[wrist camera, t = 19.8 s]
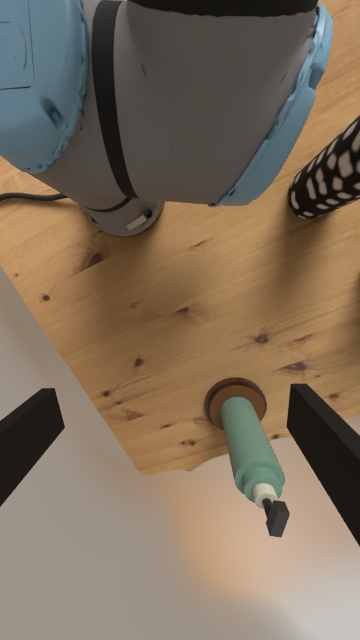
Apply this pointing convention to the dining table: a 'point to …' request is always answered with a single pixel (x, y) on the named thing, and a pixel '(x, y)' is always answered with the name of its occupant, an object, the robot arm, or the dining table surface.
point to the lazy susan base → (228, 383)
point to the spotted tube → (329, 177)
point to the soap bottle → (251, 451)
